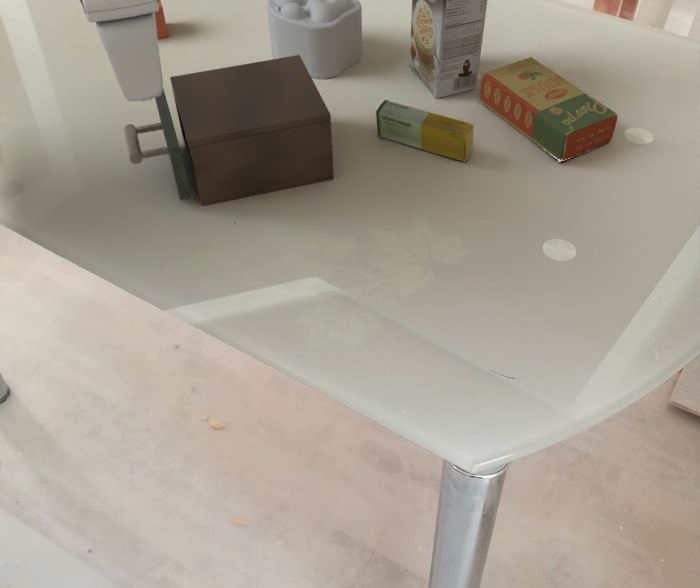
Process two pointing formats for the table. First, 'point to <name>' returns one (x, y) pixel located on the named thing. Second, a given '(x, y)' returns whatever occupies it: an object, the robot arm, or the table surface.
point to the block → (160, 22)
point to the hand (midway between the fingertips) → (144, 93)
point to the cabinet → (253, 128)
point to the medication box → (425, 130)
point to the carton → (547, 108)
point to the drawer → (171, 148)
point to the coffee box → (447, 44)
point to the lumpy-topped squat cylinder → (317, 33)
